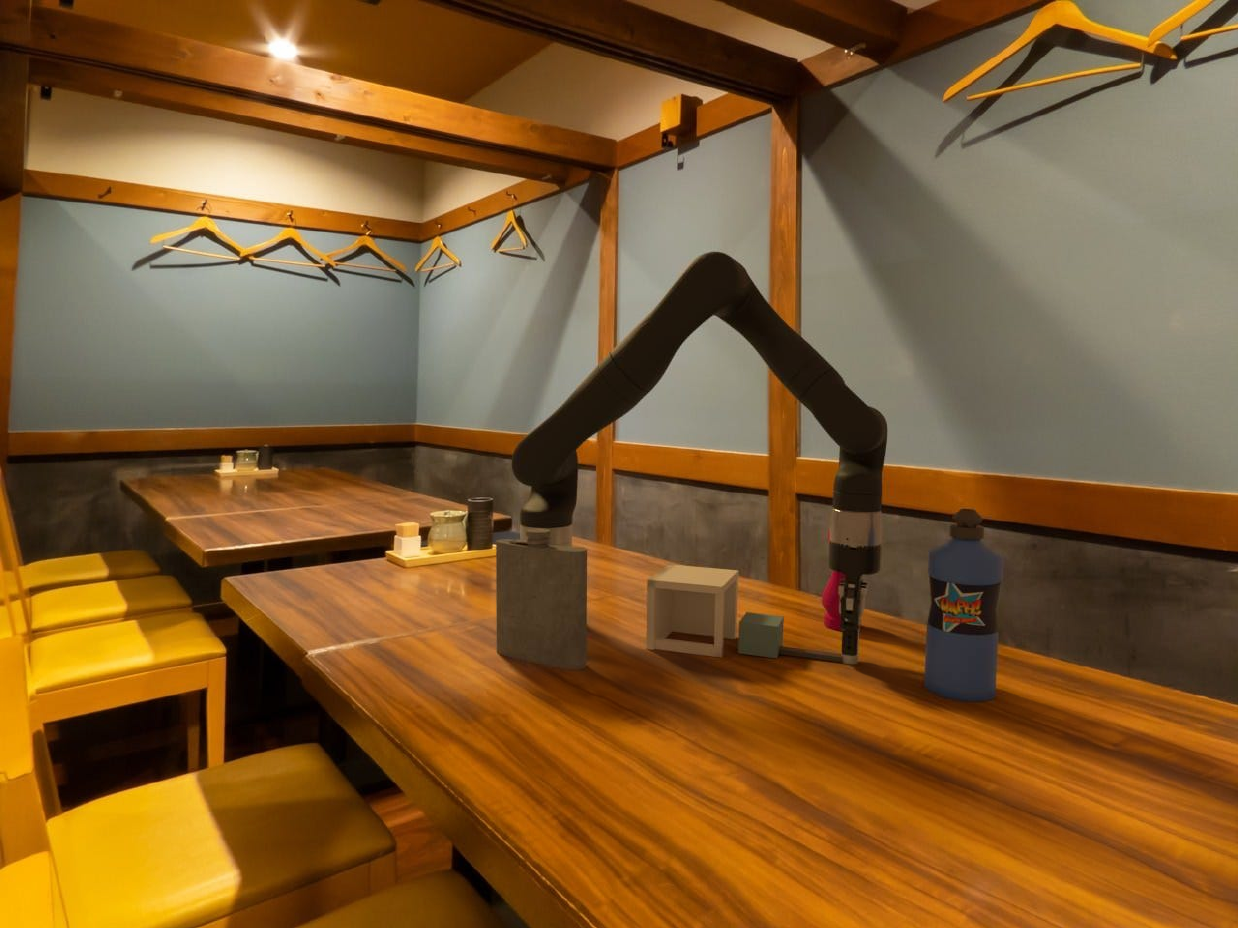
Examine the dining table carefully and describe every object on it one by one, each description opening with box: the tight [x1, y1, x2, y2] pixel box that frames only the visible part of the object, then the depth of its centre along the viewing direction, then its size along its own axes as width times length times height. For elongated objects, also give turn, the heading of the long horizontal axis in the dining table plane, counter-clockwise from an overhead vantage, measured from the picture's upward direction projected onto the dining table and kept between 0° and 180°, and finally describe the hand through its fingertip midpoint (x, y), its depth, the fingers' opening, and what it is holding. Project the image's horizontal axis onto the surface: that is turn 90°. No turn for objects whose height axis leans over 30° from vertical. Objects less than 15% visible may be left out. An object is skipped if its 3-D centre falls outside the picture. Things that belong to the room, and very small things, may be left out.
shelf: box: [645, 564, 739, 658], centre depth 125 cm, size 12×12×11 cm
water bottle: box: [923, 508, 1005, 703], centre depth 105 cm, size 9×9×25 cm
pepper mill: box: [821, 528, 862, 632], centre depth 134 cm, size 7×7×20 cm
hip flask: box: [495, 528, 588, 671], centre depth 115 cm, size 16×4×20 cm, turn 61°
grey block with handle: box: [737, 611, 860, 665], centre depth 119 cm, size 18×6×8 cm, turn 70°
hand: (849, 651), depth 116 cm, fingers closed on grey block with handle, 2 cm apart
